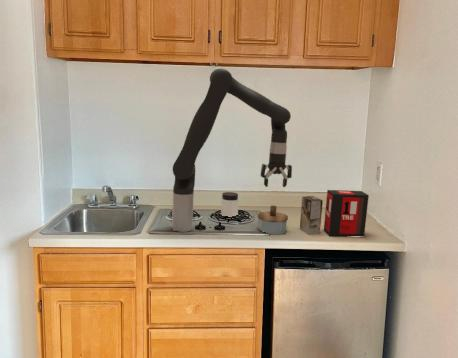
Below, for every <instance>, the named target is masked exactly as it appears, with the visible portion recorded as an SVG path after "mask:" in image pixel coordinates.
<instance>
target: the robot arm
mask: <svg viewBox="0 0 458 358" xmlns="http://www.w3.org/2000/svg"><path fill="white" fill-rule="evenodd" d="M209 83H210V84H209V87H208V90H207V93H206V95H205V98H204V99H203V101H202V103H201V104H200V106H199V107H198V109H197V111H196V112H195V115H194V116H193V118H192V121H191V123H190V126H189V128H188V132H187V134H186V136H185V140H184V144H183V146H182V147H181V151H180V152H179V154H178V155H177V157H176V159H175V162H174V163H173V165H172V174H173V176H174V185H173V188H172V213H171V215H172V217H171V219H172V220H171V227H172V231H173V232H180V233H181V232H182V233H183V232H184V233H185V232H187V233H188V232H190V231H192V230H193V224H194V223H193V222H194V221H193V219H194V197H195V196H194V195H195V194H194V193H195V192H194V191H195V184H196V183H195V182H196V164H195V163H196V161H197V157H198V155H199V153H200V151H201V150H202V148H203V147H204V145H205V144H206V142H207V140H208V138H209V136H210V134H211V132H212V130H213V127H214V125H215V122H216V119H217V117H218V114H219V111H220V109H221V106H222V103H223V101H224V99H225V98H226V96H227V94H229V95H232V96H233V97H235V98H236V99H238V100H240V102H242V103H244V104H246V105H247V106H249V107H251V109H253V110H255V111H257V112H258V113H260V114H263V115H264V116H267V117H269V118H270V123H271V138H270V139H271V140H270V145H269V157H268V164H265V163H262V164H261V167H260V168H261V169H260V177H262V178H263V184H264V185H263V186H264V187H266V188H268V187H269V177H271V176H272V175H281V176H282V177H283V178H282V187H283V188H286V187H287V186H288V185H287V184H288V180H289V179H291V178H292V177H293V175H292V174H293V173H292V172H293V166H292V164H286V160H287V148H288V146H287V142H288V141H287V139H288V131H287V130H286V124H287V123H289V122H290V120H291V117H292V116H291V112H290V111H289V110H288V108H285V107H284V106H282V105H280V104H278V103H276V102H274V101H272V100H271V99H269V98H268V97H266V96H265V95H263V94H261V93H259V92H258V91H256V90H254V89H253V88H250V87H247V86H246V85H244V84H243V83H241V82H239V81H238V80H237V79H235V78H234V77H233V75H232V73H230V71H229V70H227V69H225V68H217V69H214V70H213V71H212V72H211V73H210V75H209ZM267 169H268V170H267ZM266 170H267V172H266ZM285 170H286V171H287V174H286V172H285ZM265 173H266V174H265Z"/></svg>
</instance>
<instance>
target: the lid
mask: <svg viewBox="0 0 458 358" xmlns="http://www.w3.org/2000/svg"><path fill="white" fill-rule="evenodd" d="M269 207H270V209H269V211H261V212H259V213H258V214H257V218H258V220H259V219H260V220H263V221H267V222H285V221H287V222H288V219H289V217H288V215H287V214H286V213H283V212H278V211H277V205H270V206H269Z"/></svg>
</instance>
